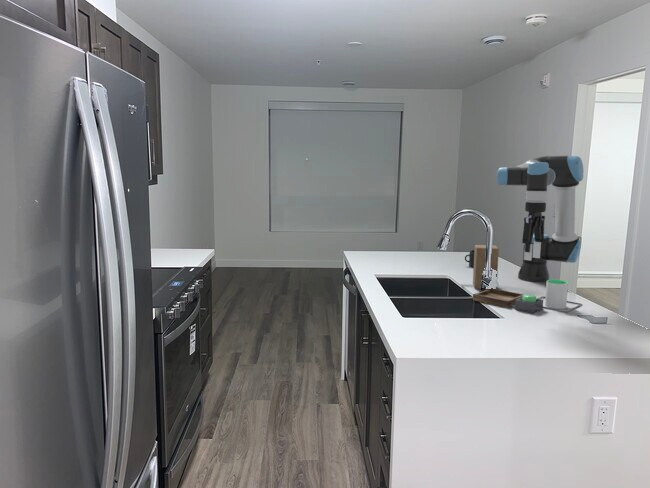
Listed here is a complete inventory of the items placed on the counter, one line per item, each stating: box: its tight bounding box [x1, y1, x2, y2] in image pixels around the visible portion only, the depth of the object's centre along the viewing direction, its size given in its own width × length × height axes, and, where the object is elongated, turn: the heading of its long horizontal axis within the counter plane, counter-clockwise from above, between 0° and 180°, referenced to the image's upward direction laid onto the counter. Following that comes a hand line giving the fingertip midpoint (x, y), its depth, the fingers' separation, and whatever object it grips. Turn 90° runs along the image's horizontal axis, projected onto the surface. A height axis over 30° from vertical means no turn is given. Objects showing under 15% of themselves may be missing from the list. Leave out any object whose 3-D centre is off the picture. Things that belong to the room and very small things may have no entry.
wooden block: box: [472, 244, 500, 290], centre depth 237 cm, size 10×10×20 cm
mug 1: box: [464, 249, 475, 269], centre depth 289 cm, size 9×12×9 cm
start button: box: [522, 294, 537, 303], centre depth 200 cm, size 5×5×4 cm
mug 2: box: [544, 279, 569, 310], centre depth 207 cm, size 12×8×10 cm
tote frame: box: [536, 296, 583, 313], centre depth 208 cm, size 17×17×1 cm
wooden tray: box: [472, 288, 525, 308], centre depth 214 cm, size 16×16×3 cm
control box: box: [514, 297, 544, 314], centre depth 201 cm, size 8×8×4 cm
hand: (532, 258), depth 198 cm, fingers open, 7 cm apart
